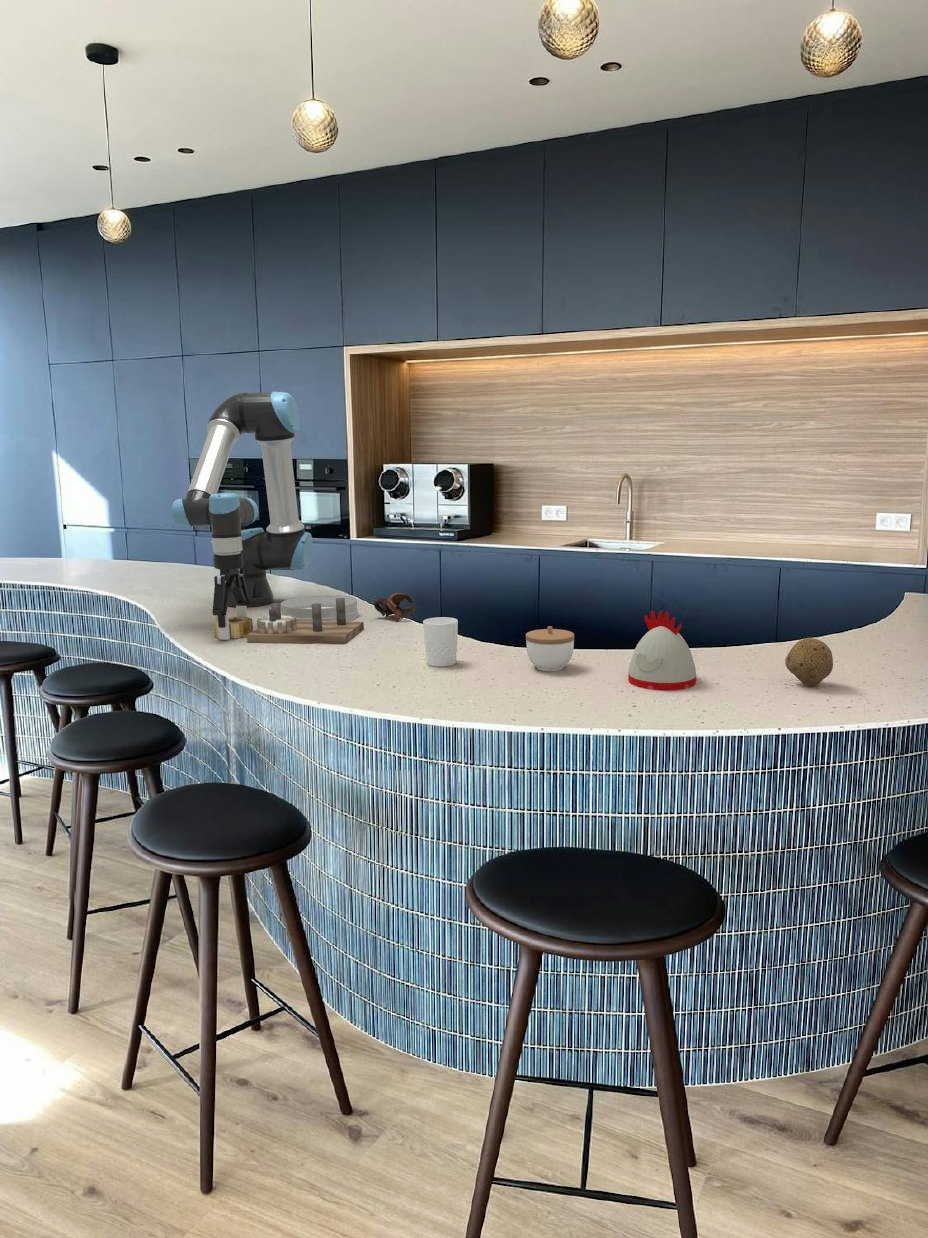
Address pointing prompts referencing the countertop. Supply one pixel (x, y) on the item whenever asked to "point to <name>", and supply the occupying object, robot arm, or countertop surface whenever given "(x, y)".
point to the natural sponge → (810, 661)
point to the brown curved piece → (395, 606)
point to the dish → (303, 607)
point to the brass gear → (236, 627)
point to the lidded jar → (550, 648)
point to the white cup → (440, 641)
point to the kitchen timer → (662, 657)
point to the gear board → (305, 627)
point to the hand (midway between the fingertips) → (233, 634)
